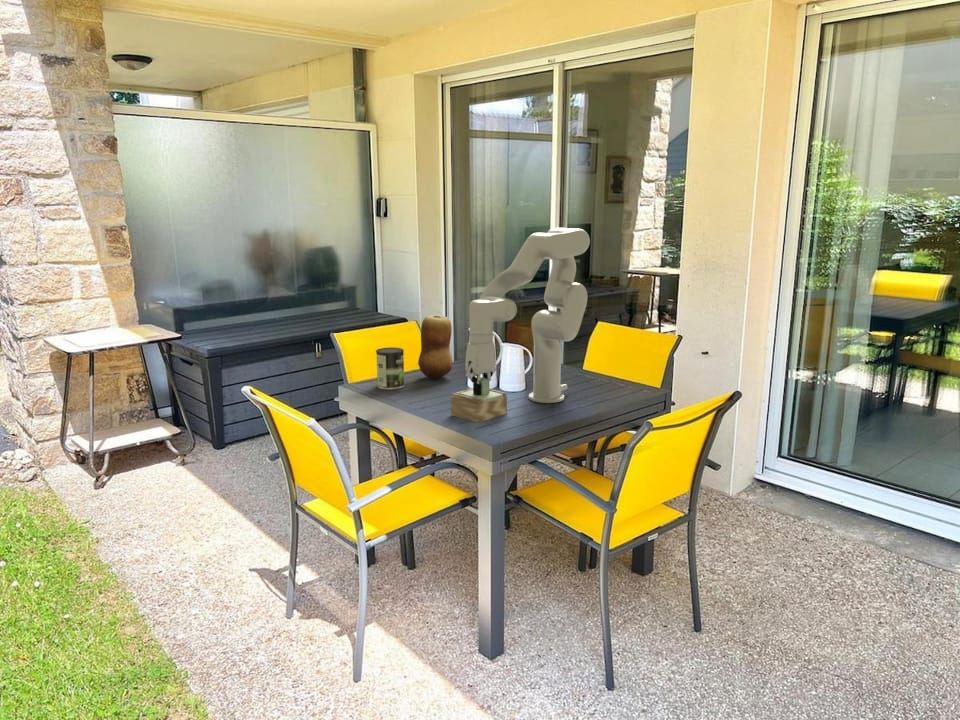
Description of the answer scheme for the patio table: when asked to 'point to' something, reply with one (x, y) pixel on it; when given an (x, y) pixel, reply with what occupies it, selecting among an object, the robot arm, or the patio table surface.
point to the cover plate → (483, 398)
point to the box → (477, 407)
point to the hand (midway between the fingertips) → (481, 393)
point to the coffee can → (390, 368)
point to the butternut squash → (435, 347)
